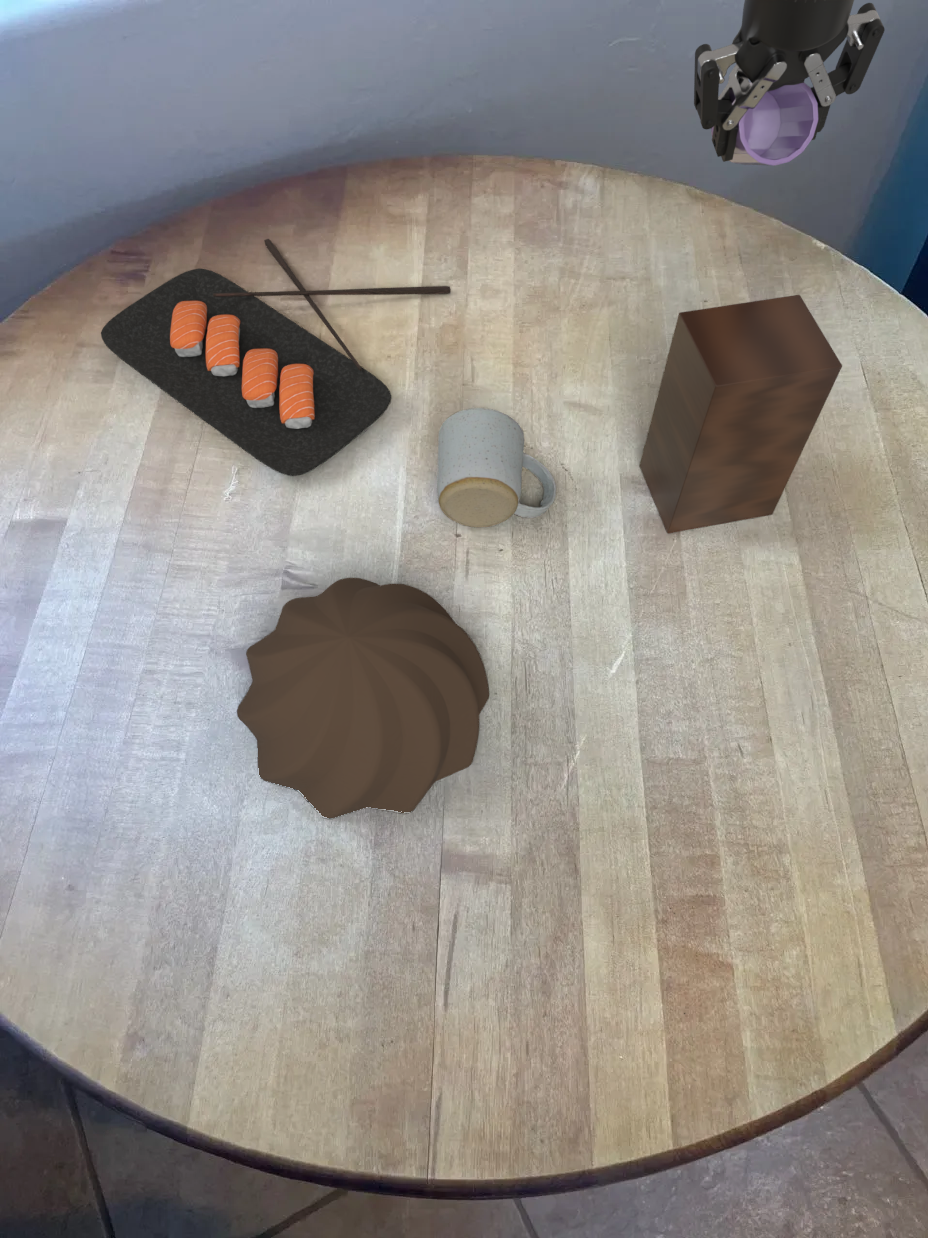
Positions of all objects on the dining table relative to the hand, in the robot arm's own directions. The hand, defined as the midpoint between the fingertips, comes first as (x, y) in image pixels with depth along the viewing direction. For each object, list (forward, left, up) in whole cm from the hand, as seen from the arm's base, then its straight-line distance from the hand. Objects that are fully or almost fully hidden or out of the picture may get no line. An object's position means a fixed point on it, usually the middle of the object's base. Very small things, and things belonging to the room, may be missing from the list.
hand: (764, 142), depth 81 cm
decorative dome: (+42, +34, -20) cm, 58 cm away
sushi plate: (+41, -8, -20) cm, 46 cm away
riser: (+8, +20, -20) cm, 29 cm away
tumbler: (0, -5, -1) cm, 5 cm away
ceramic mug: (+27, +16, -21) cm, 38 cm away
